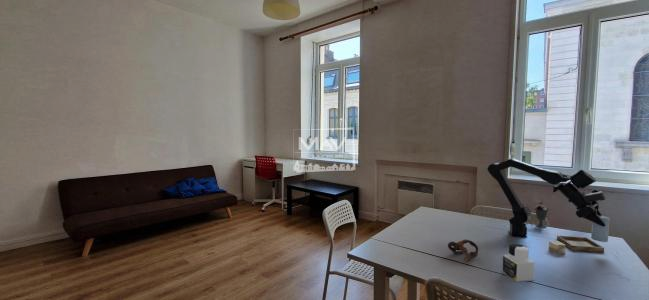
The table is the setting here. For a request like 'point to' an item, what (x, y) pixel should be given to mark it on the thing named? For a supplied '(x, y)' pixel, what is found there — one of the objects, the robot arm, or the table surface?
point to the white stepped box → (518, 263)
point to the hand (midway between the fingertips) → (605, 224)
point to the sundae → (541, 214)
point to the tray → (580, 243)
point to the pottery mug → (463, 248)
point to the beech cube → (557, 247)
